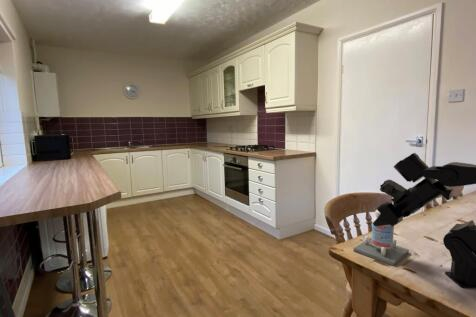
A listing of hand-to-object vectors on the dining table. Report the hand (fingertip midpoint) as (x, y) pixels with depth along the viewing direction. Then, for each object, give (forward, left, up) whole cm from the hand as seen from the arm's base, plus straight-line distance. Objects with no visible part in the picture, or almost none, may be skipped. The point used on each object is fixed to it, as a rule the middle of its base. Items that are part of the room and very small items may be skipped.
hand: (378, 222), depth 87 cm
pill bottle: (-1, -1, -8) cm, 8 cm away
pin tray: (-1, -1, -10) cm, 10 cm away
